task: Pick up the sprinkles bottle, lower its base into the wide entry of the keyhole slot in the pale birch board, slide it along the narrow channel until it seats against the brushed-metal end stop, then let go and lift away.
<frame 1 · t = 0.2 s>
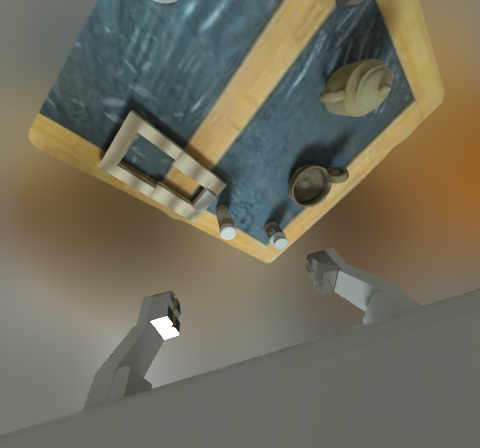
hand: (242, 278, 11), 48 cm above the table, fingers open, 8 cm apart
sugar bowl: (335, 95, 51), on the table
pill bottle: (270, 227, 72), on the table
sprinkles bottle: (222, 209, 63), on the table
bowl: (307, 178, 63), on the table
keyhole board: (169, 173, 53), on the table
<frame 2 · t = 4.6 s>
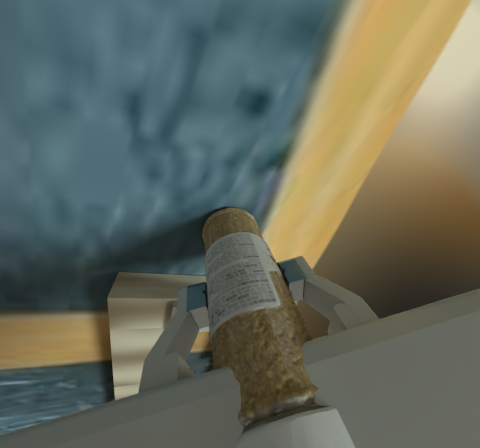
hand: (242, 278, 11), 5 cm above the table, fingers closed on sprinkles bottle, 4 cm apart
sprinkles bottle: (229, 228, 16), on the table, touching gripper
keyhole board: (190, 351, 25), on the table
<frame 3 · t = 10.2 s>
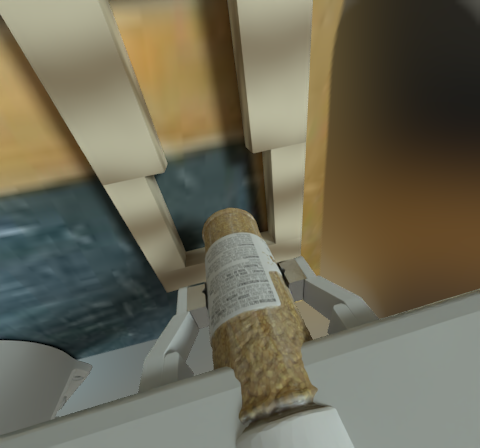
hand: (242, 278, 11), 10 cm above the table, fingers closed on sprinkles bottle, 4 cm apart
sprinkles bottle: (229, 228, 16), point 5 cm above the table, touching gripper
keyhole board: (204, 143, 16), on the table
when the fingers open (5 cm above the table, at t = 15.6 s): sprinkles bottle stays where it is, resting in keyhole board.
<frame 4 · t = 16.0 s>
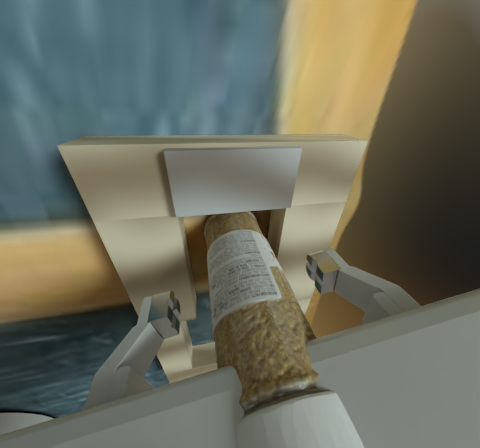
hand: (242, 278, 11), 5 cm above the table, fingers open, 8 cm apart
sprinkles bottle: (230, 226, 16), resting in keyhole board
keyhole board: (229, 283, 20), on the table
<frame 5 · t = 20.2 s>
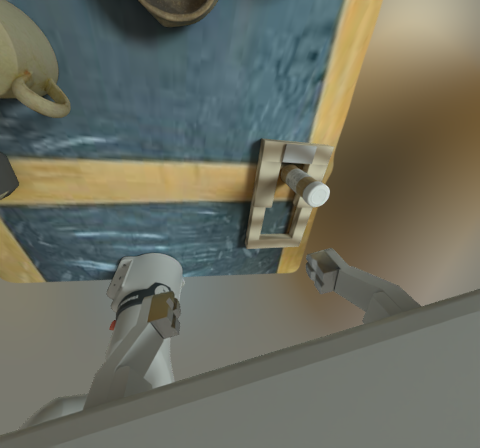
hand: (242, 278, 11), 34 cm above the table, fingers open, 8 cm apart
sugar bowl: (29, 57, 28), on the table
sprinkles bottle: (288, 172, 46), resting in keyhole board
keyhole board: (281, 199, 49), on the table
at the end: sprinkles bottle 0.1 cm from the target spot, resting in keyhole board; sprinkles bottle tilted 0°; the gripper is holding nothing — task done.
